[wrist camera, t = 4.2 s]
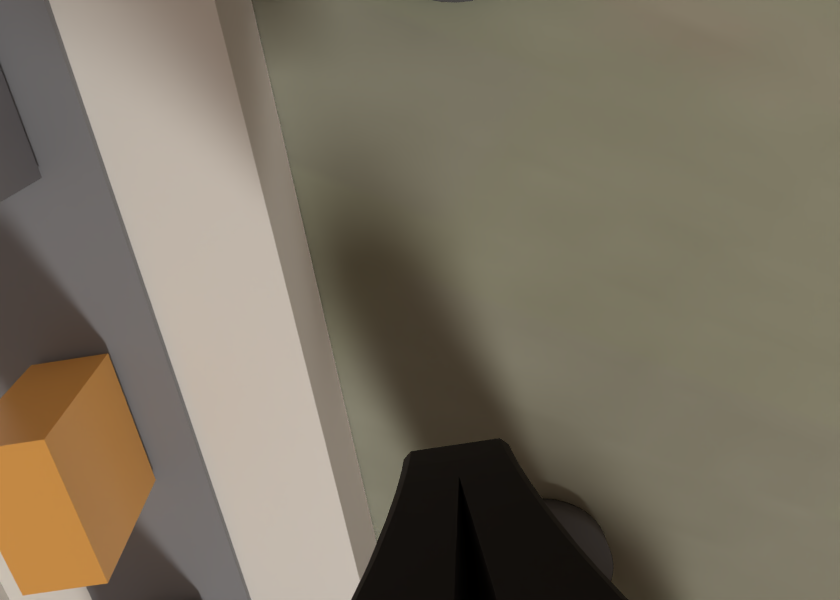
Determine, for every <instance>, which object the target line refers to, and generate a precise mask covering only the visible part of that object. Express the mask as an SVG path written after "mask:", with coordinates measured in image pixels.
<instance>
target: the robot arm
mask: <svg viewBox="0 0 840 600" xmlns="http://www.w3.org/2000/svg"><path fill="white" fill-rule="evenodd" d="M351 600H628V599H627V598H626V597H625V596H624V595H623V594H622V593H621V592H620V591H619V590H618V589H617V588H616V587H615V586H614V585H613V583H612V582H611V581H610V580H609V579H608V578H607V577H606V576H605V575H604V574H603V573H602V572H601V570H600V569H599V568H598V567H597V566H596V565H595V564H594V563H593V562H592V560H591V559H590V558H589V557H588V556H587V555H586V554H585V552H584V551H583V550H582V549H581V548H580V547H579V545H578V544H577V543H576V542H575V540H574V539H573V538H572V537H571V535H570V534H569V533H568V532H567V530H566V529H565V528H564V527H563V526H562V524H561V523H560V522H559V521H558V519H557V518H556V517H555V516H554V514H553V513H552V512H551V510H550V509H549V508H548V506H547V505H546V504H545V502H544V501H543V500H542V498H541V497H540V495H539V494H538V493H537V491H536V490H535V488H534V487H533V485H532V484H531V482H530V481H529V479H528V478H527V476H526V475H525V473H524V472H523V470H522V468H521V467H520V465H519V464H518V462H517V460H516V458H515V456H514V455H513V453H512V451H511V449H510V446H509V444H507V443H506V442H504V441H503V440H502V439H500V438H499V439H492V440H485V441H478V442H472V443H465V444H458V445H451V446H444V447H438V448H431V449H424V450H417V451H411V452H410V453H409V454H408V455H407V457H406V458H405V459H404V462H403V467H402V472H401V476H400V479H399V483H398V486H397V490H396V493H395V496H394V499H393V502H392V505H391V508H390V510H389V513H388V516H387V519H386V522H385V524H384V527H383V529H382V531H381V534H380V536H379V539H378V541H377V544H376V546H375V548H374V551H373V553H372V556H371V558H370V561H369V563H368V565H367V567H366V570H365V572H364V574H363V576H362V578H361V580H360V582H359V584H358V586H357V588H356V591H355V593H354V595H353V597H352V599H351Z"/></svg>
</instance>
